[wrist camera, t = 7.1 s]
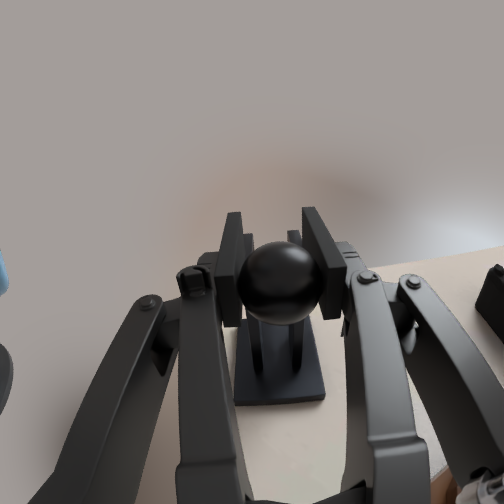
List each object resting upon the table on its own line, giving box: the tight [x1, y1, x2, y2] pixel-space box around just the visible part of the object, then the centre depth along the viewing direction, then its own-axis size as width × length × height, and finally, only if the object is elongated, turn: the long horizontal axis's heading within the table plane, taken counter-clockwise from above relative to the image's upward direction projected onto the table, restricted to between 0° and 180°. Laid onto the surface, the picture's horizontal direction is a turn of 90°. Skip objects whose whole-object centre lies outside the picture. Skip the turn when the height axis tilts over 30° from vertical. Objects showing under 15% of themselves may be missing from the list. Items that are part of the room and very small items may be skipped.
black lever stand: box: [233, 230, 326, 406], centre depth 25 cm, size 12×9×15 cm
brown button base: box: [430, 464, 462, 504], centre depth 8 cm, size 12×9×4 cm
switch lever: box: [238, 242, 322, 326], centre depth 17 cm, size 14×4×4 cm, turn 0°
